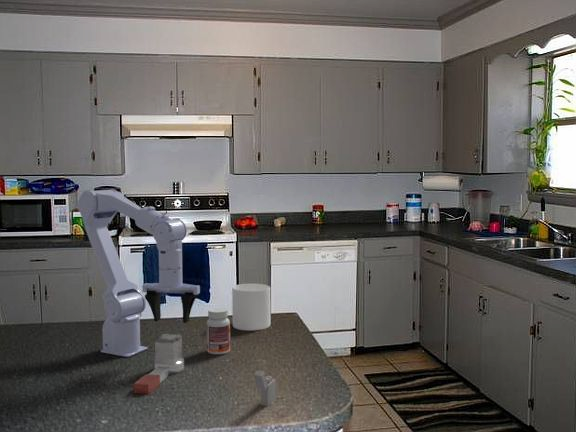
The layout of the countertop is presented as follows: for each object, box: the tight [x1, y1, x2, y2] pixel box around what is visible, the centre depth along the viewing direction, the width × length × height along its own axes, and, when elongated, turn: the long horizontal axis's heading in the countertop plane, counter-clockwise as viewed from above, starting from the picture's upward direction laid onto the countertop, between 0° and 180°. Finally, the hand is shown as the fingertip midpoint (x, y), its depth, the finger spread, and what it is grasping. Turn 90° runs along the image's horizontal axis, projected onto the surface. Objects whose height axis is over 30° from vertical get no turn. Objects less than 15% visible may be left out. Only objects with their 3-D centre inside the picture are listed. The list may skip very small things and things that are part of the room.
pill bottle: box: [206, 307, 231, 355], centre depth 157 cm, size 6×6×11 cm
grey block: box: [154, 333, 183, 365], centre depth 143 cm, size 5×5×6 cm
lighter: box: [253, 369, 277, 407], centre depth 122 cm, size 7×2×8 cm, turn 157°
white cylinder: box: [231, 283, 272, 332], centre depth 182 cm, size 12×12×12 cm
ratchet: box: [133, 357, 185, 395], centre depth 138 cm, size 19×7×5 cm, turn 168°
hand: (171, 321), depth 149 cm, fingers open, 7 cm apart
